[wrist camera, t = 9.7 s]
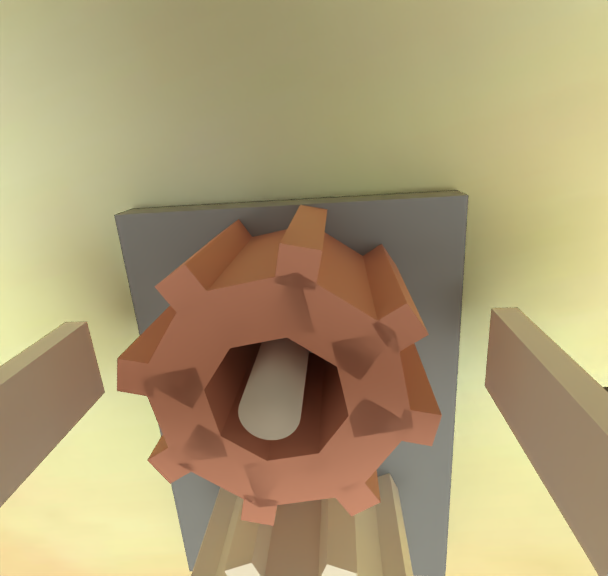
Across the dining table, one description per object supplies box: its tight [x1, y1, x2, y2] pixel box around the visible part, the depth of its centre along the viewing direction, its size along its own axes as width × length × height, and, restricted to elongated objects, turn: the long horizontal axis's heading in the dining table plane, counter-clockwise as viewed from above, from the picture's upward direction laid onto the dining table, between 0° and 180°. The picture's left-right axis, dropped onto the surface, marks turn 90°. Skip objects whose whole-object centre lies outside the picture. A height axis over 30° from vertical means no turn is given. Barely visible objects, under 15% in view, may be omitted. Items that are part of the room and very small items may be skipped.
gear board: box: [114, 190, 468, 576], centre depth 16 cm, size 19×13×8 cm
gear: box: [117, 205, 442, 526], centre depth 14 cm, size 8×8×6 cm
